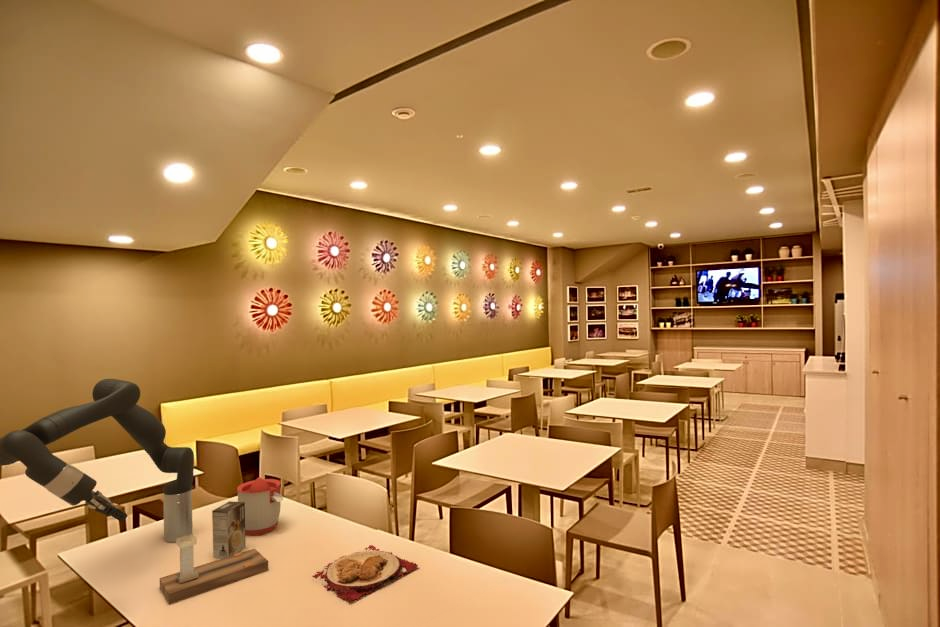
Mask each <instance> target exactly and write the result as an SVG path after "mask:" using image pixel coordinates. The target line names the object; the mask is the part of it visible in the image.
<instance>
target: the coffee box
mask: <svg viewBox="0 0 940 627" xmlns="http://www.w3.org/2000/svg"><path fill="white" fill-rule="evenodd" d="M211 513H212V514H211V518H212V554H213V556H212V557H213V558H216V559H217V558H218V559H223V558H226V557H229V556H232V555H233V554H237V553H240V551H242V550H243V549H245V548H246V546H247V545H246V534H245V502H238V501H231V500H230V501H227V502H225V503H224V504H222V505H220V506H218V507H217V508H215V509H213V510H212V511H211Z"/></svg>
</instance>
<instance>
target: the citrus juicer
mask: <svg viewBox="0 0 940 627" xmlns="http://www.w3.org/2000/svg"><path fill="white" fill-rule="evenodd" d="M281 485H282V482H281V481H280V480H279V479H273V478H262V477H257V478H256V479H253V480H250V481H246V482H244V483H241V484H239V485H238V486H237V488H236V491H237V502H245V535H249V536H258V535H259V536H263V535H264V534H267V533H270V532H272V531H274V530H275V529H276V526H277V525H278V523H279V517H280V513H281V502H282V501H283V500H284V496H283V495H282V494H281Z"/></svg>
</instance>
